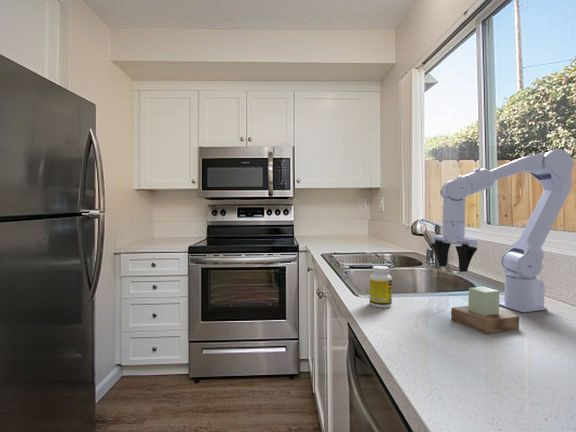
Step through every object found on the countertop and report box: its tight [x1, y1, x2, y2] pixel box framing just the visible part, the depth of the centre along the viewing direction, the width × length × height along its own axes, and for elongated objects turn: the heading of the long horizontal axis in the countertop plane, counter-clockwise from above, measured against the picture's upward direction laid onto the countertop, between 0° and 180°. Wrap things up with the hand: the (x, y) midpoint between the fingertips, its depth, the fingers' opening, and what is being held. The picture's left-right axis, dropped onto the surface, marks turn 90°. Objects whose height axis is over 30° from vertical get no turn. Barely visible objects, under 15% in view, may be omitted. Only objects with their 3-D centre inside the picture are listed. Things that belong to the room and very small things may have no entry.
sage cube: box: [467, 286, 500, 316], centre depth 81 cm, size 4×4×6 cm
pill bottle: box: [369, 265, 393, 309], centre depth 96 cm, size 6×6×11 cm
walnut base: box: [450, 305, 520, 335], centre depth 81 cm, size 10×10×3 cm
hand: (452, 268), depth 96 cm, fingers open, 7 cm apart
